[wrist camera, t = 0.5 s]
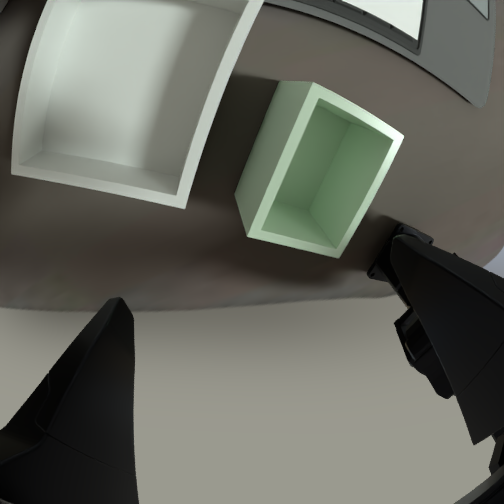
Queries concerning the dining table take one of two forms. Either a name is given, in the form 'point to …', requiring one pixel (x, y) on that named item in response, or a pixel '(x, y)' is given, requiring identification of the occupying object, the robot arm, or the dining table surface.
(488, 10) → the laptop
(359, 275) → the dining table surface
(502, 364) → the robot arm
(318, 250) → the small crate
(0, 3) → the coffee cup
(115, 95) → the big crate
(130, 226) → the dining table surface
